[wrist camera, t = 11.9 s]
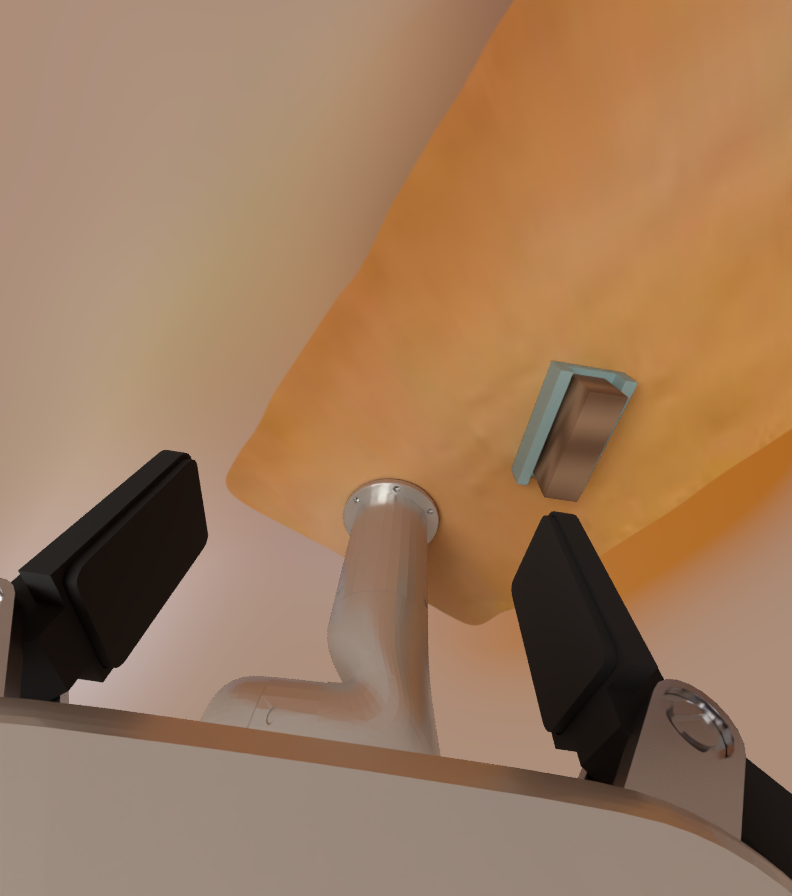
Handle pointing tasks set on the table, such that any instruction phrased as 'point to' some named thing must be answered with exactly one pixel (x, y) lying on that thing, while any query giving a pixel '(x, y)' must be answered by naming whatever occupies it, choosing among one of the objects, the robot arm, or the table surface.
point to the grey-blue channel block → (549, 406)
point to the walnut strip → (578, 436)
